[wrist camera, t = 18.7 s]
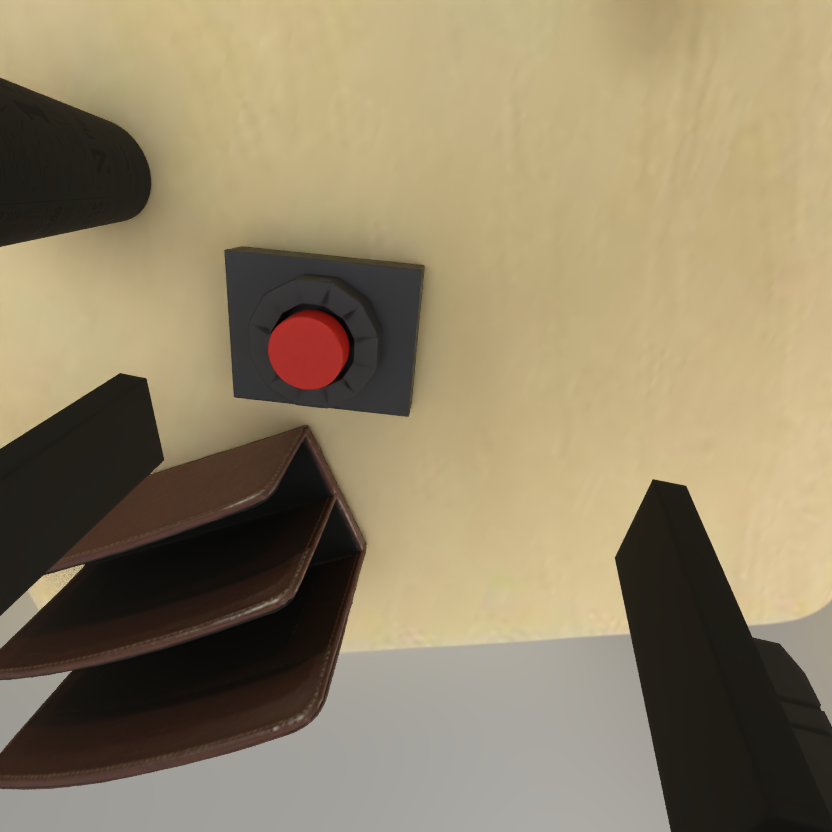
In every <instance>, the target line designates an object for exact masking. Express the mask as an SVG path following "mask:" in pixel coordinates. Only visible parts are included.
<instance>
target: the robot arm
mask: <svg viewBox="0 0 832 832" xmlns="http://www.w3.org/2000/svg"><path fill="white" fill-rule="evenodd" d="M163 461H164V457H163V452H162V448H161V443H160V439H159V434H158V429H157V425H156V420H155V416H154V411H153V406H152V402H151V397H150V393H149V388H148V384H147V379H146V378H142V377H137V376H131V375H126V374H121V373H120V374H118V375H116V376H115V377H113V378H112V379H110V380H108V381H107V382H105V383H104V384H102V385H101V386H99V387H97V388H96V389H94V390H93V391H91V392H90V393H88V394H86V395H85V396H83V397H82V398H80V399H78V400H77V401H75V402H74V403H72V404H71V405H69V406H67V407H66V408H64V409H63V410H61V411H59V412H58V413H56V414H55V415H53V416H52V417H50V418H48V419H47V420H45V421H44V422H42V423H40V424H39V425H37V426H36V427H34V428H33V429H31V430H29V431H28V432H26V433H25V434H23V435H22V436H20V437H18V438H17V439H15V440H14V441H12V442H10V443H9V444H7V445H6V446H4V447H3V448H1V449H0V616H1V615H2V614H3V613H4V612H5V611H6V610H7V609H8V608H9V607H10V606H11V605H12V604H13V603H14V602H15V601H16V600H17V599H19V598H20V597H21V596H22V595H23V594H24V593H25V592H26V591H27V590H28V589H29V588H30V587H31V586H32V585H33V584H34V583H35V582H36V581H38V580H39V579H40V578H41V577H42V576H43V575H44V574H45V573H46V572H47V571H48V570H49V569H50V568H51V567H52V566H53V565H54V564H55V563H56V562H58V561H59V560H60V559H61V558H62V557H63V556H64V555H65V554H66V553H67V552H68V551H69V550H70V549H71V548H72V547H73V546H74V545H75V544H76V543H78V542H79V541H80V540H81V539H82V538H83V537H84V536H85V535H86V534H87V533H88V532H89V531H90V530H91V529H92V528H93V527H94V526H95V525H96V524H97V523H99V522H100V521H101V520H102V519H103V518H104V517H105V516H106V515H107V514H108V513H109V512H110V511H111V510H112V509H113V508H114V507H115V506H116V505H117V504H119V503H120V502H121V501H122V500H123V499H124V498H125V497H126V496H127V495H128V494H129V493H130V492H131V491H132V490H133V489H134V488H135V487H136V486H137V485H139V484H140V483H141V482H142V481H143V480H144V479H145V478H146V477H147V476H148V475H149V474H150V473H151V472H152V471H153V470H154V469H155V468H156V467H157V466H158V465H160V464H161V463H162V462H163ZM615 561H616V565H617V570H618V575H619V580H620V585H621V590H622V595H623V600H624V605H625V609H626V614H627V619H628V624H629V629H630V634H631V639H632V644H633V648H634V653H635V658H636V662H637V668H638V672H639V678H640V682H641V688H642V692H643V697H644V702H645V707H646V712H647V717H648V722H649V727H650V731H651V736H652V741H653V746H654V751H655V756H656V761H657V766H658V771H659V775H660V780H661V785H662V790H663V795H664V800H665V805H666V810H667V814H668V819H669V824H670V829H671V832H832V726H831V724H830V722H829V720H828V718H827V716H826V714H825V712H824V711H821V709H820V706H821V704H820V702H819V700H818V698H817V696H816V694H815V692H814V690H813V688H812V687H811V685H810V682H809V680H808V678H807V676H806V675H805V673H804V672H803V671H802V669H801V668H800V667H799V666H798V665H797V663H796V662H795V661H794V660H793V659H792V658H791V657H790V655H789V654H788V653H787V652H786V651H785V649H784V648H783V647H782V646H781V645H780V644H779V643H774V642H770V641H766V640H761V639H757V638H752V636H751V633H750V631H749V629H748V626H747V624H746V622H745V619H744V617H743V615H742V612H741V610H740V608H739V606H738V603H737V601H736V599H735V596H734V594H733V592H732V590H731V587H730V585H729V583H728V581H727V578H726V576H725V574H724V571H723V569H722V567H721V565H720V562H719V560H718V558H717V555H716V553H715V551H714V549H713V546H712V544H711V542H710V539H709V537H708V535H707V533H706V530H705V528H704V526H703V523H702V521H701V519H700V517H699V514H698V512H697V510H696V507H695V505H694V503H693V501H692V498H691V496H690V494H689V491H688V489H687V487H686V486H684V485H679V484H674V483H669V482H664V481H659V480H654V479H653V480H652V482H651V484H650V486H649V488H648V491H647V493H646V495H645V497H644V499H643V501H642V503H641V505H640V507H639V509H638V511H637V513H636V515H635V517H634V519H633V521H632V524H631V526H630V528H629V530H628V532H627V534H626V536H625V538H624V540H623V542H622V544H621V546H620V548H619V550H618V552H617V554H616V557H615Z"/></svg>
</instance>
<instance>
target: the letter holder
mask: <svg viewBox="0 0 832 832" xmlns="http://www.w3.org/2000/svg"><path fill="white" fill-rule="evenodd" d="M365 554H366V542H365V541H364V539H363V537H362V535H361V533H360V531H359V529H358V527H357V525H356V523H355V521H354V519H353V516H352V514H351V512H350V510H349V508H348V506H347V504H346V502H345V500H344V498H343V496H342V494H341V492H340V490H339V488H338V486H337V483H336V481H335V479H334V477H333V475H332V473H331V471H330V469H329V467H328V465H327V463H326V461H325V459H324V457H323V455H322V452H321V450H320V449H319V447H318V445H317V443H316V440H315V439H314V436H313V434H312V433H311V431H310V429H309V427H308V426H303V427H300V428H298V429H295V430H291V431H288V432H284V433H282V434H279V435H276V436H272V437H269V438H265V439H263V440H260V441H257V442H253V443H250V444H248V445H245V446H241V447H238V448H235V449H232V450H229V451H226V452H222V453H219V454H216V455H212V456H210V457H206V458H204V459H200V460H197V461H194V462H191V463H187V464H184V465H181V466H178V467H175V468H172V469H168V470H165V471H162V472H159V473H156V474H153V475H150V476H147V477H146V478H145V479H144V480H143V481H142V482H141V483H140V484H139V485H137V486H136V487H135V488H134V489H133V490H132V491H131V492H130V493H129V494H128V495H127V496H126V497H125V498H124V499H123V500H122V501H121V502H120V503H119V504H117V505H116V506H115V507H114V508H113V509H112V510H111V511H110V512H109V513H108V514H107V515H106V516H105V517H104V518H103V519H102V520H101V521H100V522H99V523H97V524H96V525H95V526H94V527H93V528H92V529H91V530H90V531H89V532H88V533H87V534H86V535H85V536H84V537H83V538H82V539H81V540H80V541H79V542H78V543H76V544H75V545H74V546H73V547H72V548H71V549H70V550H69V551H68V552H67V553H66V554H65V555H64V556H63V557H62V558H61V559H60V560H59V561H58V562H56V563H55V564H54V565H53V566H52V567H51V568H50V569H49V570H48V571H47V572H46V573H45V574H44V575H46V574H50V573H54V572H57V571H60V570H64V569H68V568H71V567H75V566H78V565H82V564H85V566H84V567H83V568H82V569H81V570H80V571H79V572H78V573H77V574H76V575H75V576H74V577H73V578H72V579H71V580H70V581H69V583H68V584H67V585H66V586H65V587H63V588H62V589H61V591H59V592H58V594H57V595H55V596H54V597H53V598H52V599H51V600H50V601H49V602H48V603H47V604H46V605H45V606H44V607H43V608H42V609H41V610H40V611H39V612H38V613H37V614H36V615H35V616H34V617H33V618H32V619H31V620H30V621H29V622H28V623H27V624H26V625H25V626H24V627H23V628H21V630H19V631H18V632H17V633H16V634H15V635H14V636H13V637H12V638H11V639H10V640H9V641H8V642H7V643H6V644H5V645H4V646H3V647H2V648H1V649H0V680H11V679H20V678H28V677H37V676H44V675H51V674H56V673H61V672H66V671H72V672H71V673H70V674H69V675H68V676H67V677H66V678H65V679H64V680H63V682H62V683H61V684H60V685H59V686H58V687H57V689H56V690H55V691H54V692H53V693H52V694H51V696H50V697H49V698H48V699H47V700H46V701H45V703H43V704H42V705H41V707H40V708H39V709H38V710H37V711H36V713H35V714H34V715H33V716H32V717H31V718H30V719H29V721H28V722H27V723H26V724H25V725H24V726H23V727H22V728H21V730H20V731H19V732H18V733H17V734H16V735H15V736H14V738H13V739H12V740H11V741H10V742H9V743H8V745H7V746H6V747H5V748H4V750H3V751H2V752H1V753H0V789H22V790H25V789H53V788H61V787H71V786H81V785H87V784H95V783H102V782H108V781H112V780H117V779H122V778H127V777H132V776H137V775H142V774H146V773H151V772H155V771H159V770H163V769H168V768H173V767H178V766H182V765H186V764H189V763H194V762H197V761H201V760H205V759H209V758H213V757H217V756H221V755H224V754H228V753H232V752H236V751H239V750H242V749H245V748H249V747H252V746H255V745H258V744H261V743H265V742H267V741H271V740H274V739H277V738H280V737H283V736H286V735H289V734H291V733H294V732H296V731H298V730H300V729H302V728H303V727H305V726H307V725H308V724H309V723H310V722H312V721H313V720H314V719H315V717H317V716H318V714H319V712H320V711H321V709H322V707H323V706H324V704H325V701H326V698H327V696H328V692H329V688H330V684H331V681H332V677H333V674H334V670H335V666H336V663H337V659H338V655H339V651H340V648H341V644H342V640H343V636H344V632H345V628H346V624H347V620H348V616H349V611H350V608H351V605H352V604H353V602H352V601H353V596H354V593H355V590H356V586H357V581H358V578H359V574H360V570H361V566H362V563H363V560H364V556H365Z"/></svg>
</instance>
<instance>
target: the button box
mask: <svg viewBox="0 0 832 832" xmlns="http://www.w3.org/2000/svg"><path fill="white" fill-rule="evenodd" d="M225 265H226V281H227V296H228V312H229V327H230V343H231V358H232V374H233V390H234V397H236V398H245V399H254V400H263V401H272V402H281V403H290V404H296V405H301V406H310V407H319V408H335V409H344V410H353V411H362V412H371V413H380V414H389V415H397V416H406V417H408V416H409V413H410V408H411V403H412V394H413V383H414V372H415V362H416V351H417V341H418V330H419V319H420V309H421V298H422V287H423V277H424V265H417V264H407V263H398V262H388V261H378V260H368V259H358V258H349V257H339V256H329V255H319V254H310V253H300V252H290V251H280V250H271V249H261V248H251V247H237V248H232V249H226V250H225ZM309 309H310V310H319V311H322V312H325V313H327V314H329V315H331V316H332V317H334V318H335V319H336V320H337V321H338V322H339V323H340V324H341V325H342V326H343V328H344V330H345V331H346V334H347V336H348V340H349V348H350V350H349V356H348V359H347V362H346V364H345V365H344V367H343V368H342V370H341V371H340V373H339V374H338V376H337V377H336V378H335V379H334V380H333V381H332V382H331V383H330V384H328V385H327V386H325V387H322V388H319V389H314V390H305V389H300V388H296V387H294V386H291V385H290V384H288V383H286V382H285V381H284V380H283V379H281V378H280V377H279V376H278V374H277V373H276V372H275V370H274V369H273V367H272V365H271V362H270V359H269V355H268V343H269V339H270V336H271V334H272V332H273V330H274V329H275V328H276V327H277V326H278V325H279V324H280V323H281V322H282V321H284V320H285V319H287V318H288V317H290V316H291V315H293V314H295V313H297V312H299V311H303V310H309Z"/></svg>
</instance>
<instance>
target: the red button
mask: <svg viewBox="0 0 832 832" xmlns="http://www.w3.org/2000/svg"><path fill="white" fill-rule="evenodd" d="M349 350H350V348H349V340H348V336H347V334H346V331H345V330H344V328H343V326H342V325H341V324H340V323H339V322H338V321H337V320H336V319H335V318H334V317H332V316H331V315H329V314H327V313H325V312H322V311H319V310H310V309H309V310H303V311H299V312H297V313H295V314H293V315H291V316H290V317H288V318H287V319H285V320H284V321H282V322H281V323H280V324H279V325H278V326H277V327H276V328H275V329H274V330H273V332H272V334H271V336H270V339H269V343H268V355H269V359H270V362H271V365H272V367H273V369H274V370H275V372H276V373H277V374H278V376H279V377H280V378H281V379H283V380H284V381H285V382H286V383H288V384H290V385H291V386H294V387H296V388H300V389H305V390H314V389H319V388H322V387H325V386H327V385H328V384H330V383H331V382H332V381H333V380H334V379H335V378H336V377H337V376H338V374H339V373H340V371H341V370H342V368H343V367H344V365H345V364H346V362H347V359H348V356H349Z"/></svg>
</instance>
